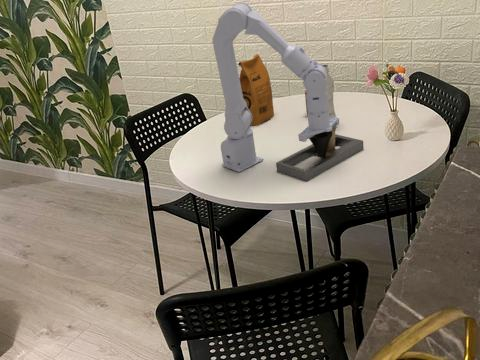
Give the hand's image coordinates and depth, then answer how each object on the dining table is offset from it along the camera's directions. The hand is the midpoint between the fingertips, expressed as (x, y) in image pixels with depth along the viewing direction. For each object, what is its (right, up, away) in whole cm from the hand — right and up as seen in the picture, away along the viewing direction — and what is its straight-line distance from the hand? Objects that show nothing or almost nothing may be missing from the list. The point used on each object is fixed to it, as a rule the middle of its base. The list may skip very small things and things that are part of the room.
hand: (321, 156), depth 143 cm
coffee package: (-17, +15, +38) cm, 44 cm away
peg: (+3, +1, +2) cm, 3 cm away
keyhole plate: (+1, -1, +1) cm, 1 cm away
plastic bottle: (+5, +10, +22) cm, 25 cm away
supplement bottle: (+3, +16, +34) cm, 37 cm away
